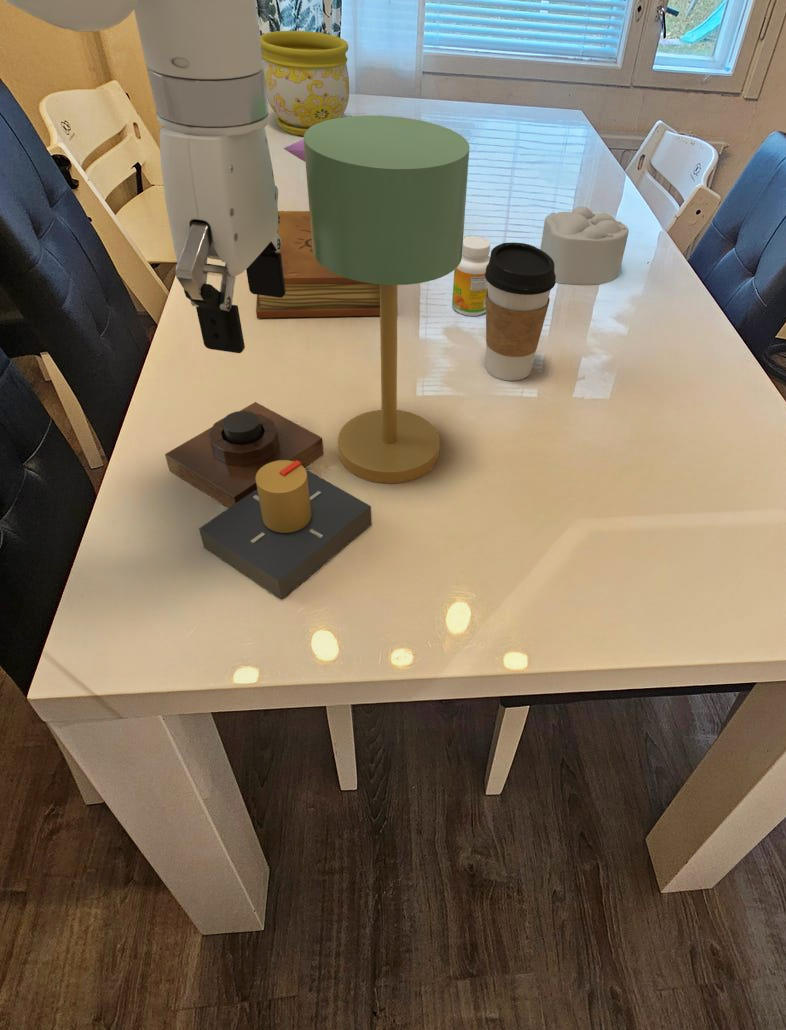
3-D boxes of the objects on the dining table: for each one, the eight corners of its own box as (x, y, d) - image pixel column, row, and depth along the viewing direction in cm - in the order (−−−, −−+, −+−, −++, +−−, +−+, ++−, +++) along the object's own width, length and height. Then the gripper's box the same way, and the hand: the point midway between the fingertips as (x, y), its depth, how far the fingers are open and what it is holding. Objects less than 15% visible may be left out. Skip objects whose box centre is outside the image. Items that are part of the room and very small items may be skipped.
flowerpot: (368, 131, 157) (366, 45, 146) (306, 146, 146) (298, 54, 135) (313, 111, 164) (307, 27, 153) (250, 124, 154) (239, 35, 142)
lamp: (398, 507, 71) (400, 182, 49) (303, 454, 76) (267, 135, 54) (471, 446, 79) (500, 143, 57) (381, 401, 84) (377, 106, 62)
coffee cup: (517, 345, 96) (531, 236, 85) (553, 377, 91) (573, 265, 81) (464, 359, 92) (473, 247, 82) (499, 392, 87) (513, 278, 77)
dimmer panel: (281, 599, 62) (278, 579, 60) (203, 547, 65) (197, 527, 63) (371, 524, 69) (371, 504, 67) (297, 481, 73) (294, 461, 71)
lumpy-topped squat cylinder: (535, 255, 117) (542, 202, 111) (609, 256, 120) (620, 204, 114) (548, 284, 110) (557, 229, 104) (627, 285, 112) (640, 231, 106)
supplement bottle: (446, 300, 103) (450, 235, 97) (481, 297, 105) (487, 232, 98) (458, 318, 100) (463, 251, 93) (493, 315, 102) (501, 249, 95)
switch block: (237, 513, 69) (231, 482, 66) (169, 470, 72) (160, 439, 69) (323, 453, 76) (321, 424, 73) (258, 417, 80) (253, 388, 77)
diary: (395, 316, 99) (395, 277, 95) (257, 319, 95) (251, 278, 91) (380, 246, 115) (379, 210, 111) (261, 246, 111) (256, 209, 107)
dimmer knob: (287, 540, 63) (280, 497, 59) (252, 518, 65) (244, 475, 61) (321, 514, 66) (317, 471, 62) (287, 493, 67) (281, 450, 64)
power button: (242, 450, 70) (239, 436, 69) (217, 436, 71) (214, 422, 70) (269, 433, 72) (267, 420, 71) (244, 420, 73) (242, 406, 72)
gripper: (210, 62, 55) (243, 271, 67) (92, 125, 43) (159, 367, 55) (303, 74, 55) (320, 282, 67) (212, 141, 42) (253, 381, 54)
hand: (247, 320), depth 61 cm, fingers open, 9 cm apart
